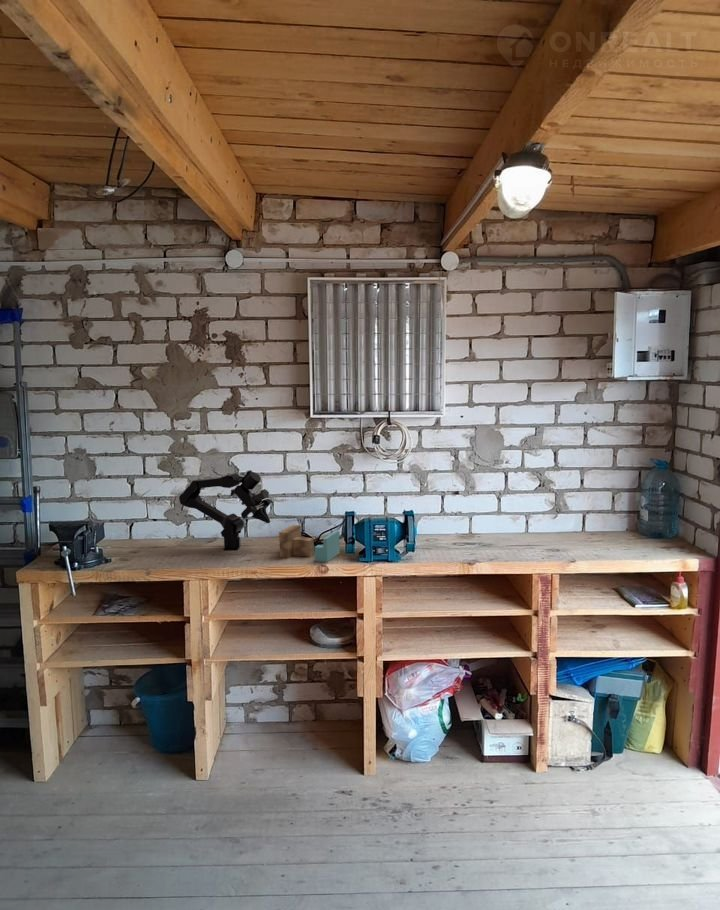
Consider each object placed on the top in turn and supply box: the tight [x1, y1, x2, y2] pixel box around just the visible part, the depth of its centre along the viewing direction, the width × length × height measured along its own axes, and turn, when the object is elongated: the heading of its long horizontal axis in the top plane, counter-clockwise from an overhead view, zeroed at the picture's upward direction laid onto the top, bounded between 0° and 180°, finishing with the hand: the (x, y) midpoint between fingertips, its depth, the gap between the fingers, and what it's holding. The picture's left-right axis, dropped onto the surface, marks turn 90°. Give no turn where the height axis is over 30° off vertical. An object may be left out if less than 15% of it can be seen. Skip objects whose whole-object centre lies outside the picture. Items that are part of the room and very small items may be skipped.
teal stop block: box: [314, 529, 341, 563], centre depth 269 cm, size 6×14×10 cm, turn 160°
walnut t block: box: [278, 524, 315, 559], centre depth 274 cm, size 12×13×11 cm
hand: (269, 522), depth 277 cm, fingers closed
